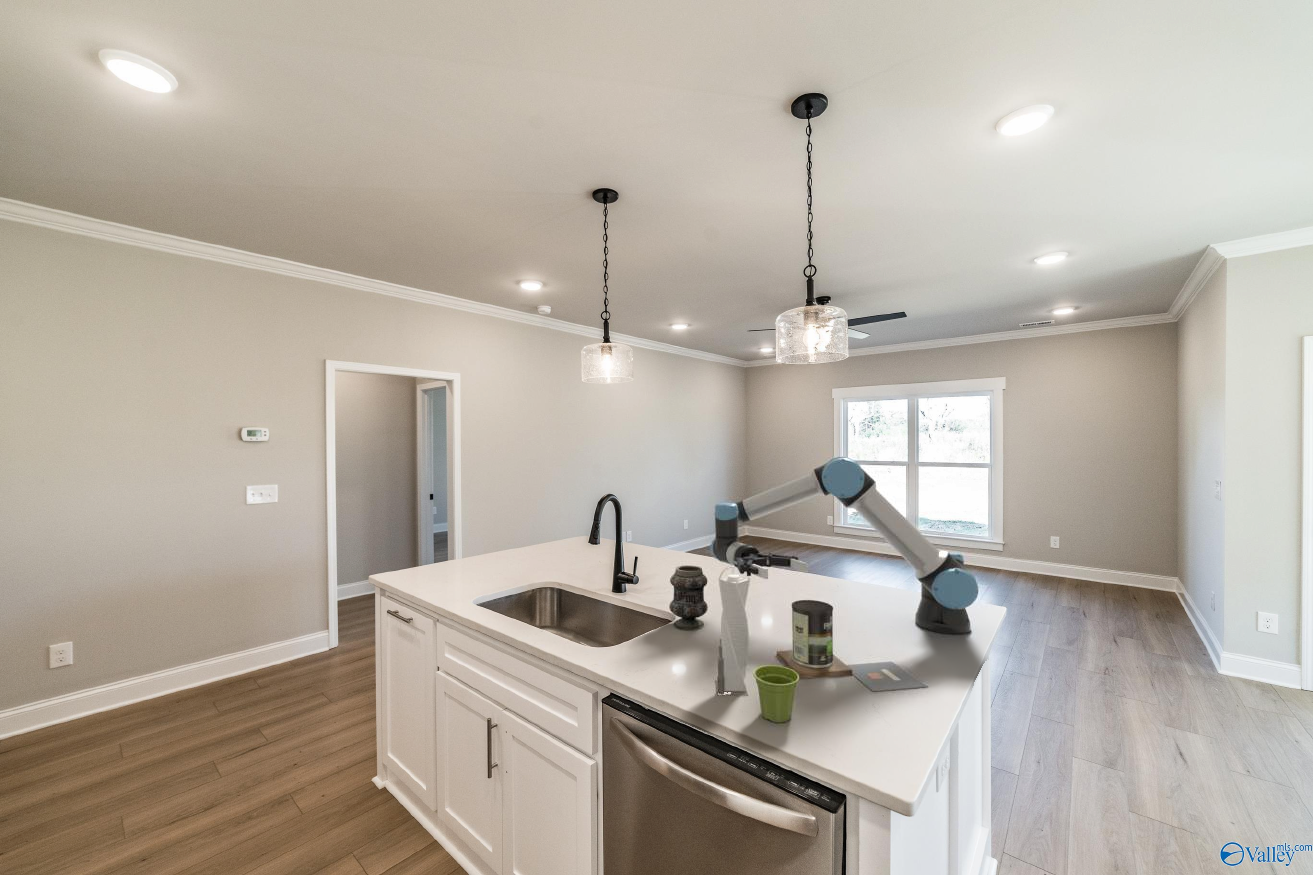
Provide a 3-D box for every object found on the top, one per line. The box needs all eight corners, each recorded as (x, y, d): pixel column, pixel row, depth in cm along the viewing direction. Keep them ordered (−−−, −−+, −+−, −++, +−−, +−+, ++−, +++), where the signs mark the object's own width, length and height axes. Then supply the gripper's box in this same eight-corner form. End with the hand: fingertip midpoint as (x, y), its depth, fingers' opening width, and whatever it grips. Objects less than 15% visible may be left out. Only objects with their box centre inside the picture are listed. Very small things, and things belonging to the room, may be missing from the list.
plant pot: (748, 705, 114) (748, 665, 114) (790, 703, 115) (790, 663, 115) (760, 728, 105) (760, 685, 105) (806, 726, 106) (805, 683, 106)
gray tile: (891, 662, 136) (891, 661, 136) (927, 687, 122) (927, 686, 122) (841, 666, 134) (841, 665, 134) (873, 691, 120) (873, 690, 120)
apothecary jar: (714, 622, 166) (714, 566, 166) (696, 634, 156) (696, 574, 156) (681, 616, 172) (681, 561, 173) (662, 627, 162) (662, 569, 162)
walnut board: (825, 652, 143) (825, 647, 143) (852, 674, 129) (852, 669, 129) (776, 655, 140) (776, 651, 140) (799, 678, 127) (799, 673, 127)
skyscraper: (714, 679, 127) (714, 564, 127) (747, 679, 127) (747, 564, 127) (717, 696, 119) (717, 573, 119) (753, 696, 118) (752, 573, 119)
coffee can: (837, 657, 136) (837, 603, 136) (827, 671, 128) (827, 614, 128) (798, 649, 142) (798, 597, 142) (786, 662, 133) (786, 607, 133)
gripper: (776, 563, 168) (822, 578, 148) (709, 573, 157) (749, 590, 138) (776, 540, 168) (822, 552, 148) (708, 548, 158) (748, 562, 138)
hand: (787, 570), depth 143 cm, fingers open, 13 cm apart
